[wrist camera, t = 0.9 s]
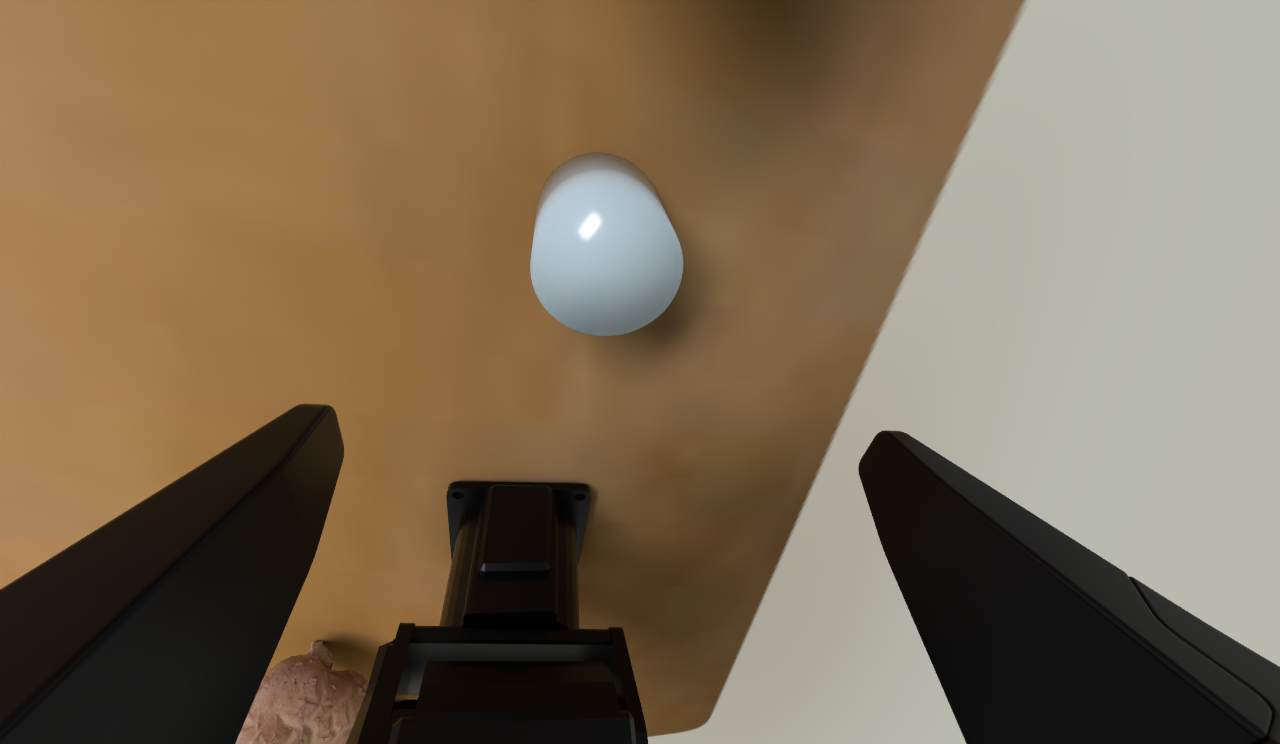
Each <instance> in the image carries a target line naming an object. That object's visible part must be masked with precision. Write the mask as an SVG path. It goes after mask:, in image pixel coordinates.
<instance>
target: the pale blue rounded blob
mask: <svg viewBox="0 0 1280 744" xmlns="http://www.w3.org/2000/svg"><path fill="white" fill-rule="evenodd" d="M530 270H531V279H532V283H533V287H534V290H535V292H536V294H537V296H538V298H539V300H540V302H541V303H542V305H543V306H544V308H545V309H546V310H547V311H548V312H549V313H550V314H551V315H552V316H553V317H554V318H555V319H556V320H558V321H559V322H561V323H562V324H564V325H565V326H567V327H569V328H571V329H573V330H576V331H578V332H581V333H585V334H589V335H596V336H615V335H621V334H626V333H629V332H632V331H635V330H638V329H640V328H642V327H644V326H646V325H647V324H649V323H651V322H652V321H653V320H655V319H656V318H657V317H659V316H660V315H661V314H662V313H663V312H664V311H665V310H666V308H667V307H668V306H669V305H670V303H671V302H672V300H673V299H674V297H675V295H676V293H677V291H678V289H679V286H680V283H681V279H682V273H683V255H682V250H681V246H680V243H679V240H678V238H677V235H676V233H675V231H674V229H673V227H672V225H671V223H670V221H669V218H668V216H667V214H666V212H665V210H664V208H663V206H662V204H661V202H660V199H659V197H658V195H657V193H656V191H655V189H654V187H653V185H652V183H651V182H650V180H649V179H648V177H647V176H646V175H645V174H644V173H643V172H642V171H641V170H640V169H639V168H638V167H637V166H636V165H634V164H633V163H632V162H630V161H628V160H626V159H624V158H622V157H619V156H616V155H612V154H608V153H589V154H584V155H580V156H577V157H574V158H572V159H570V160H568V161H566V162H565V163H563V164H562V165H560V166H559V167H558V168H557V169H556V170H555V171H554V172H553V173H552V174H551V175H550V176H549V178H548V179H547V180H546V182H545V184H544V186H543V188H542V190H541V192H540V195H539V199H538V204H537V212H536V221H535V229H534V237H533V246H532V254H531V262H530Z"/></svg>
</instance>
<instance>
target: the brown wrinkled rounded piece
mask: <svg viewBox="0 0 1280 744" xmlns="http://www.w3.org/2000/svg"><path fill="white" fill-rule="evenodd" d="M332 664H333V662H332V654H331V653H330V651H329V650H328V649H327V648H326V647H325V646H324V645H323V641H319V642H312V644H311V650H310V652H309V653H308V654H307V655H298V656H291V657H290V658H288V659H285V660H283V661H281V662H280V663H278V664H277V665H276V666H274V667H273V668H272V669H271V670H270V671H269V672H268V673H267V674H266V675H265V677H264V678H263V680H262V682H261V685H260V687H259V689H258V692H257V694H256V696H255V699H254V701H253V703H252V706H251V708H250V711H249V713H248V715H247V718H246V720H245V722H244V725H243V727H242V729H241V732H240V734H239V736H238V739H237V741H236V743H235V744H346V742H347V740H348V737H349V735H350V732H351V730H352V727H353V725H354V722H355V720H356V717H357V715H358V712H359V710H360V707H361V705H362V702H363V699H364V697H365V694H366V691H367V688H368V684H369V683H368V680H366V678H364V677H363V676H362V675H360V674H358V673H357V672H356V671H350V670H345V671H336V670H332V669H331V668H332Z"/></svg>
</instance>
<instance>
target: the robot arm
mask: <svg viewBox="0 0 1280 744" xmlns="http://www.w3.org/2000/svg"><path fill="white" fill-rule="evenodd" d="M343 457H344V445H343V440H342V436H341V432H340V428H339V424H338V419H337V415H336V412H335V410H334V408H333V407H331V406H329V405H320V404H300V405H297V406H295V407H293V408H292V409H290V410H288V411H287V412H285V413H284V414H282V415H280V416H279V417H277V418H276V419H274V420H272V421H271V422H269V423H268V424H266V425H264V426H263V427H261V428H259V429H258V430H256V431H255V432H253V433H251V434H250V435H248V436H247V437H245V438H243V439H242V440H240V441H239V442H237V443H235V444H234V445H232V446H231V447H229V448H227V449H226V450H224V451H222V452H221V453H219V454H218V455H216V456H214V457H213V458H211V459H210V460H208V461H206V462H205V463H203V464H202V465H200V466H198V467H197V468H195V469H194V470H192V471H190V472H189V473H187V474H185V475H184V476H182V477H181V478H179V479H177V480H176V481H174V482H173V483H171V484H169V485H168V486H166V487H165V488H163V489H161V490H160V491H158V492H156V493H155V494H153V495H152V496H150V497H148V498H147V499H145V500H144V501H142V502H140V503H139V504H137V505H136V506H134V507H132V508H131V509H129V510H128V511H126V512H124V513H123V514H121V515H119V516H118V517H116V518H115V519H113V520H111V521H110V522H108V523H107V524H105V525H103V526H102V527H100V528H99V529H97V530H95V531H94V532H92V533H91V534H89V535H87V536H86V537H84V538H82V539H81V540H79V541H78V542H76V543H74V544H73V545H71V546H70V547H68V548H66V549H65V550H63V551H62V552H60V553H58V554H57V555H55V556H53V557H52V558H50V559H49V560H47V561H45V562H44V563H42V564H41V565H39V566H37V567H36V568H34V569H33V570H31V571H29V572H28V573H26V574H25V575H23V576H21V577H20V578H18V579H16V580H15V581H13V582H12V583H10V584H8V585H7V586H5V587H4V588H2V589H0V744H235V743H236V741H237V739H238V736H239V734H240V732H241V729H242V727H243V725H244V722H245V720H246V718H247V715H248V713H249V711H250V708H251V706H252V703H253V701H254V699H255V696H256V694H257V692H258V689H259V687H260V685H261V682H262V680H263V678H264V675H265V673H266V671H267V668H268V666H269V664H270V661H271V659H272V657H273V654H274V652H275V650H276V647H277V645H278V643H279V640H280V638H281V635H282V633H283V631H284V628H285V626H286V624H287V621H288V619H289V617H290V614H291V612H292V610H293V607H294V605H295V603H296V600H297V598H298V596H299V593H300V591H301V589H302V586H303V584H304V582H305V579H306V577H307V575H308V572H309V570H310V567H311V564H312V562H313V559H314V557H315V554H316V551H317V547H318V544H319V541H320V538H321V534H322V531H323V527H324V524H325V521H326V517H327V514H328V510H329V507H330V503H331V500H332V496H333V493H334V490H335V486H336V483H337V479H338V476H339V472H340V469H341V466H342V462H343ZM859 475H860V479H861V482H862V485H863V488H864V491H865V494H866V497H867V501H868V504H869V507H870V510H871V513H872V516H873V519H874V522H875V526H876V529H877V532H878V535H879V538H880V541H881V544H882V547H883V549H884V552H885V555H886V557H887V559H888V562H889V564H890V567H891V569H892V571H893V574H894V576H895V578H896V581H897V583H898V585H899V588H900V590H901V592H902V594H903V597H904V599H905V602H906V604H907V606H908V609H909V611H910V613H911V616H912V618H913V620H914V622H915V625H916V627H917V630H918V632H919V634H920V636H921V639H922V641H923V644H924V646H925V648H926V651H927V653H928V655H929V657H930V660H931V662H932V664H933V667H934V669H935V671H936V674H937V676H938V678H939V680H940V683H941V685H942V688H943V690H944V692H945V695H946V697H947V699H948V702H949V704H950V706H951V709H952V711H953V713H954V716H955V718H956V720H957V723H958V725H959V727H960V730H961V732H962V734H963V736H964V738H965V741H966V743H967V744H1280V667H1279V666H1277V665H1276V664H1274V663H1272V662H1271V661H1269V660H1267V659H1265V658H1264V657H1262V656H1260V655H1259V654H1257V653H1255V652H1254V651H1252V650H1250V649H1249V648H1247V647H1245V646H1244V645H1242V644H1240V643H1238V642H1237V641H1235V640H1233V639H1232V638H1230V637H1228V636H1227V635H1225V634H1223V633H1222V632H1220V631H1218V630H1217V629H1215V628H1213V627H1212V626H1210V625H1208V624H1207V623H1205V622H1203V621H1202V620H1200V619H1199V618H1197V617H1195V616H1194V615H1192V614H1191V613H1189V612H1187V611H1185V610H1184V609H1182V608H1181V607H1179V606H1177V605H1176V604H1174V603H1173V602H1171V601H1170V600H1168V599H1166V598H1165V597H1163V596H1162V595H1160V594H1158V593H1157V592H1155V591H1154V590H1152V589H1150V588H1149V587H1147V586H1146V585H1144V584H1143V583H1141V582H1140V581H1138V580H1136V579H1135V578H1133V577H1128V576H1127V574H1126V573H1125V572H1124V571H1122V570H1120V569H1119V568H1117V567H1116V566H1114V565H1113V564H1111V563H1109V562H1108V561H1106V560H1105V559H1103V558H1101V557H1100V556H1098V555H1097V554H1095V553H1094V552H1092V551H1090V550H1089V549H1087V548H1086V547H1084V546H1083V545H1081V544H1080V543H1078V542H1076V541H1075V540H1073V539H1072V538H1070V537H1069V536H1067V535H1065V534H1064V533H1062V532H1061V531H1059V530H1057V529H1056V528H1054V527H1053V526H1051V525H1050V524H1048V523H1047V522H1045V521H1043V520H1042V519H1040V518H1039V517H1037V516H1035V515H1034V514H1032V513H1031V512H1029V511H1027V510H1026V509H1025V508H1023V507H1021V506H1020V505H1018V504H1017V503H1015V502H1013V501H1012V500H1010V499H1009V498H1007V497H1006V496H1004V495H1002V494H1001V493H999V492H998V491H996V490H994V489H993V488H991V487H990V486H988V485H987V484H985V483H984V482H982V481H980V480H979V479H977V478H976V477H974V476H973V475H971V474H969V473H968V472H966V471H965V470H963V469H962V468H960V467H958V466H957V465H955V464H954V463H952V462H951V461H949V460H947V459H946V458H944V457H943V456H941V455H940V454H938V453H936V452H935V451H933V450H931V449H930V448H929V447H927V446H925V445H924V444H922V443H921V442H919V441H918V440H916V439H914V438H913V437H911V436H910V435H908V434H906V433H904V432H900V431H881V432H879V433H878V434H877V435H876V436H875V438H874V439H873V441H872V443H871V444H870V446H869V447H868V449H867V451H866V452H865V454H864V455H863V457H862V458H861V460H860V463H859ZM590 498H591V497H590V488H589V487H588V486H587V485H585V484H570V483H518V482H466V481H458V482H453V483H451V484H450V485H449V487H448V491H447V508H448V520H449V533H450V545H451V558H452V564H451V569H450V574H449V579H448V584H447V590H446V595H445V600H444V605H443V610H442V616H441V621H440V626H415V623H400V625H399V628H398V631H397V635H396V638H395V639H394V640H393V641H392V642H390V643H387V644H385V645H382V646H380V647H379V649H378V653H377V656H376V660H375V663H374V667H373V670H372V674H371V677H370V681H369V684H368V688H367V691H366V694H365V697H364V699H363V702H362V705H361V707H360V710H359V712H358V715H357V717H356V720H355V722H354V725H353V727H352V730H351V732H350V735H349V737H348V740H347V742H346V744H648V739H647V731H646V725H645V720H644V716H643V712H642V707H641V703H640V699H639V695H638V691H637V687H636V682H635V678H634V674H633V670H632V666H631V662H630V657H629V653H628V649H627V645H626V641H625V637H624V632H623V629H622V627H609V628H608V630H606V629H579V600H578V563H579V558H580V552H581V547H582V541H583V536H584V530H585V525H586V520H587V514H588V509H589V503H590ZM414 694H419V697H418V700H406V698H407V695H414Z"/></svg>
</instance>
